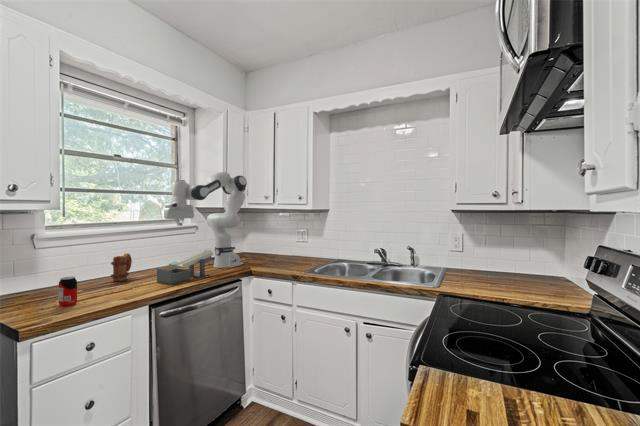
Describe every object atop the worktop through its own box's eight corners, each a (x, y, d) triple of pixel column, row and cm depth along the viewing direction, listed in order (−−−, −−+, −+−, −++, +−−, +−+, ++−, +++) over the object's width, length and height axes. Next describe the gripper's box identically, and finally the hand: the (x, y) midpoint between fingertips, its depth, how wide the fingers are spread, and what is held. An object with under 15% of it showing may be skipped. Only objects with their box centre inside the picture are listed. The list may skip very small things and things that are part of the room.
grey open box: (176, 278, 191) (176, 265, 191) (190, 280, 184) (190, 266, 184) (156, 282, 180) (156, 268, 180) (170, 285, 174) (170, 270, 173)
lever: (198, 257, 211) (196, 248, 209) (214, 259, 203) (212, 250, 202) (169, 270, 192) (166, 260, 191) (185, 272, 184) (183, 262, 183)
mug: (121, 282, 180) (121, 256, 180) (107, 282, 180) (107, 256, 180) (137, 276, 194) (136, 252, 194) (124, 276, 195) (123, 252, 194)
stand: (194, 273, 203) (194, 256, 203) (209, 276, 196) (209, 258, 196) (184, 276, 196) (183, 258, 196) (199, 278, 189) (198, 260, 189)
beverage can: (76, 305, 138) (76, 278, 138) (58, 308, 134) (57, 280, 134) (77, 301, 143) (77, 275, 143) (59, 304, 139) (59, 277, 139)
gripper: (189, 204, 217) (190, 224, 217) (162, 204, 199) (162, 226, 200) (196, 204, 214) (196, 224, 214) (168, 204, 196) (168, 226, 196)
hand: (179, 225), depth 207 cm, fingers closed
